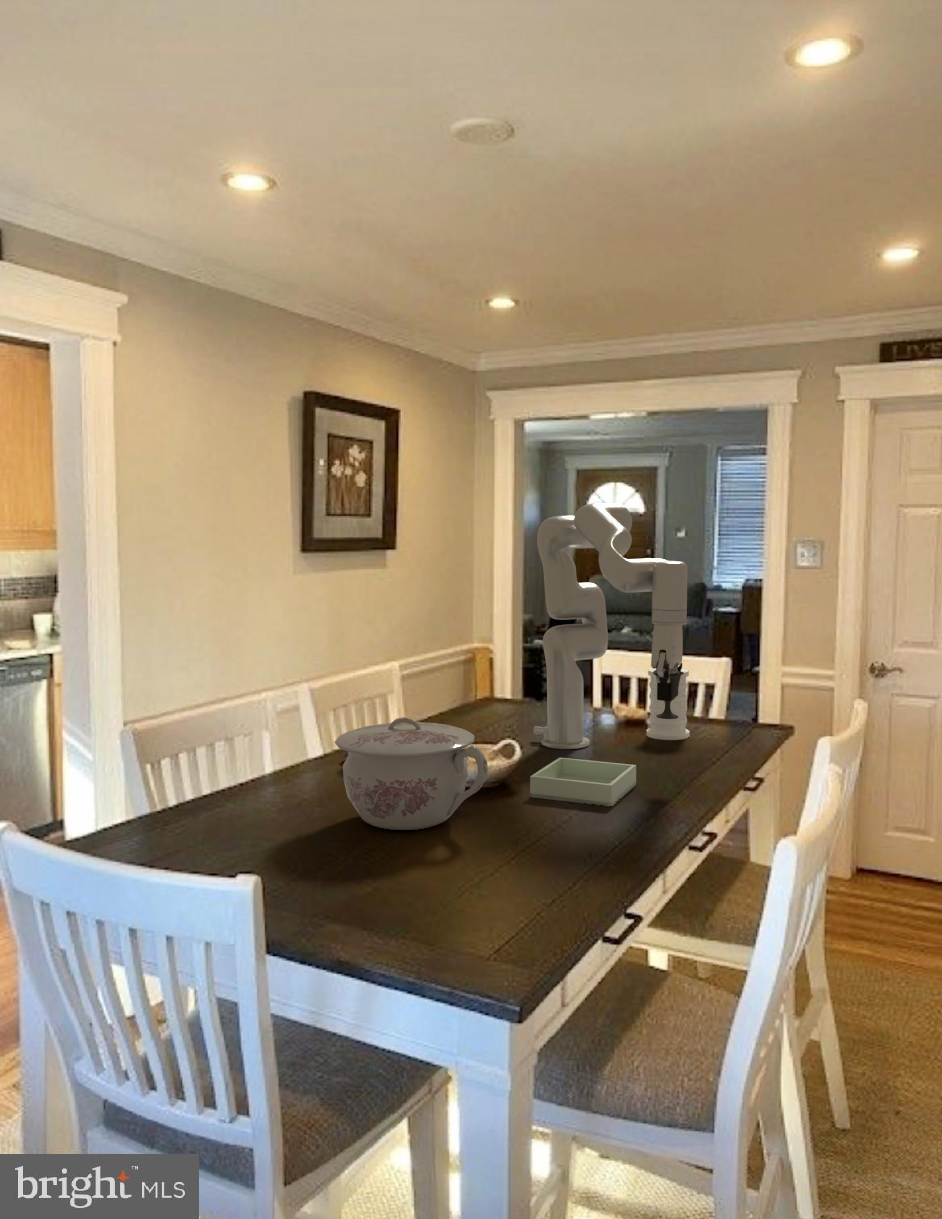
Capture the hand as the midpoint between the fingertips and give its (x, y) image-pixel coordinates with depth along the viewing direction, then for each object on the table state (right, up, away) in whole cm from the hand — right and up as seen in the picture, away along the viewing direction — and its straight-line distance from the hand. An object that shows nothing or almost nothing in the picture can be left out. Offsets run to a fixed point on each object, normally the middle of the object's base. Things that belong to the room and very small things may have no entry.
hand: (667, 697), depth 214 cm
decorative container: (+10, -15, +49) cm, 52 cm away
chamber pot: (-56, -22, -24) cm, 65 cm away
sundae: (0, -5, 0) cm, 5 cm away
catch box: (-19, -20, -5) cm, 28 cm away
